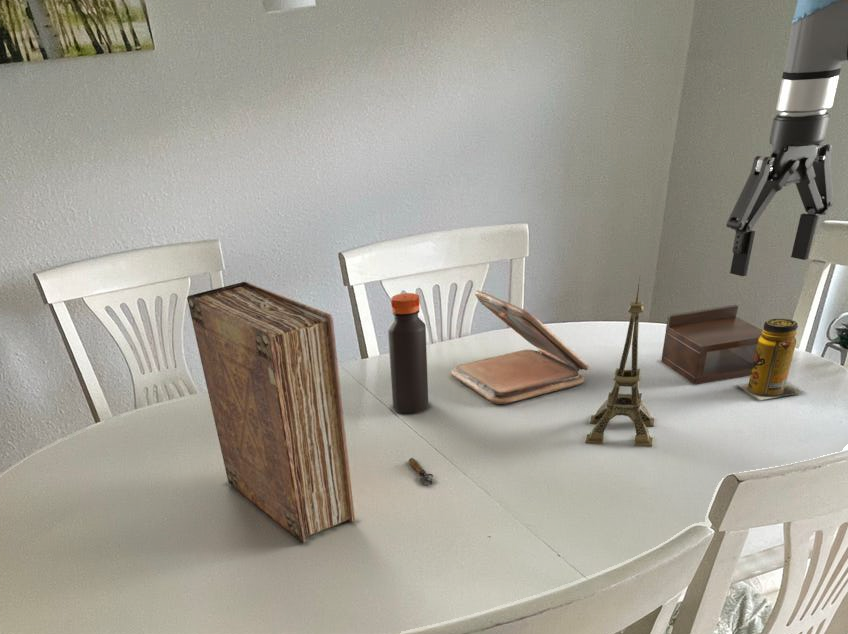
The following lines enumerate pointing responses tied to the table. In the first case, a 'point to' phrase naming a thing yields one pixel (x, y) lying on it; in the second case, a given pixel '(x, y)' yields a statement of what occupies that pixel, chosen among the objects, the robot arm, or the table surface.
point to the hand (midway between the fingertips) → (769, 266)
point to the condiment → (773, 361)
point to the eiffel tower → (625, 402)
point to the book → (276, 404)
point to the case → (522, 360)
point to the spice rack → (710, 344)
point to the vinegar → (408, 355)
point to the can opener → (420, 472)
